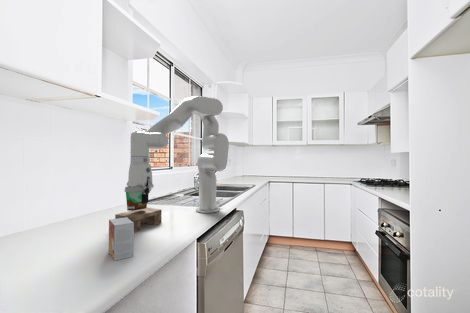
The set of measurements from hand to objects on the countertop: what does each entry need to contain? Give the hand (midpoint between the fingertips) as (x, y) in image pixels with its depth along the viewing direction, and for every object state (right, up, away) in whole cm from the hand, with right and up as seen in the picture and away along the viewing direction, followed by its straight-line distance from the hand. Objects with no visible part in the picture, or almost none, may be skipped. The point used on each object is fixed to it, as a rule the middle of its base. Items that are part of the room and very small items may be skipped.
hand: (139, 202), depth 106 cm
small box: (+6, -11, -30) cm, 32 cm away
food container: (+1, -3, 0) cm, 3 cm away
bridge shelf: (0, -10, 0) cm, 10 cm away
